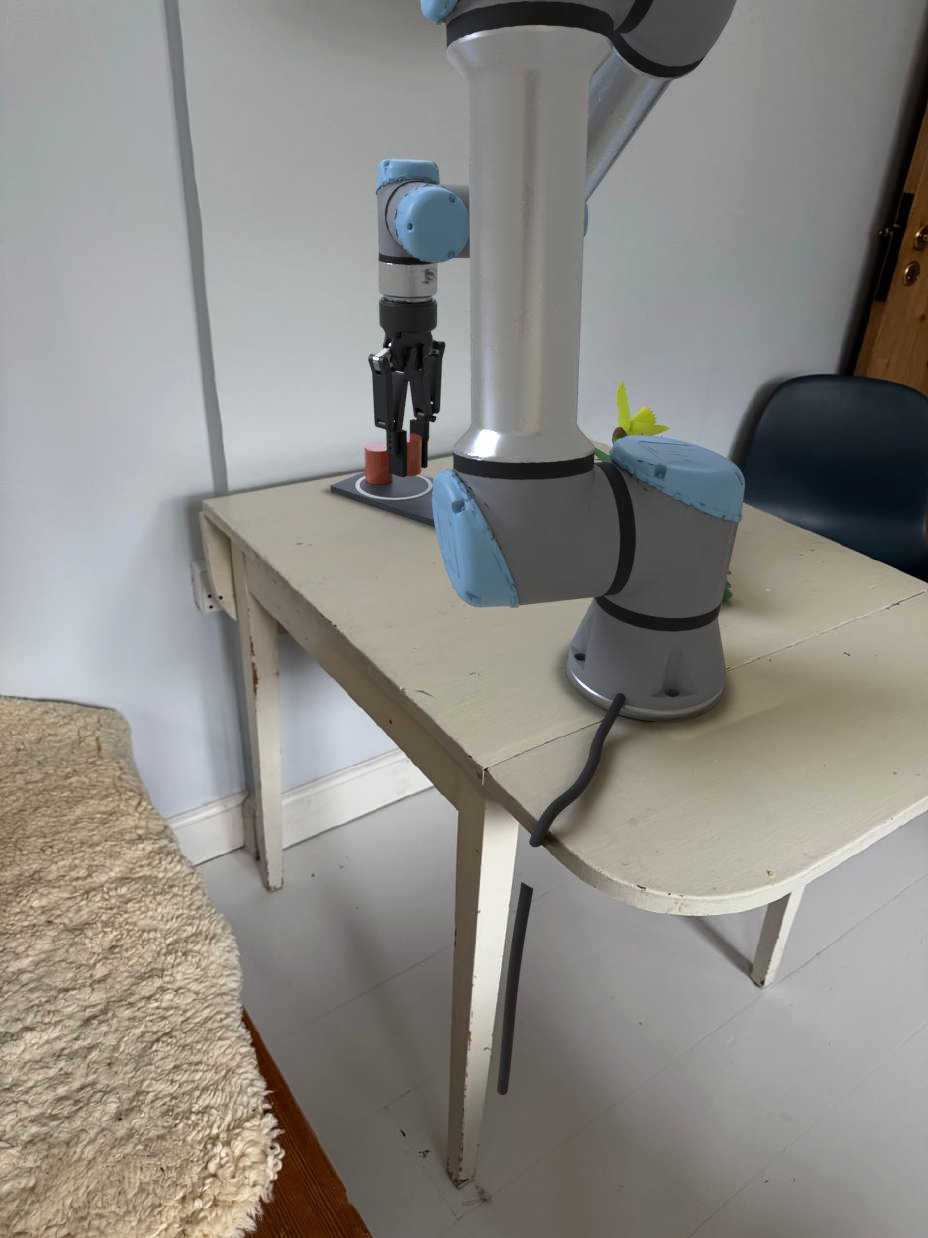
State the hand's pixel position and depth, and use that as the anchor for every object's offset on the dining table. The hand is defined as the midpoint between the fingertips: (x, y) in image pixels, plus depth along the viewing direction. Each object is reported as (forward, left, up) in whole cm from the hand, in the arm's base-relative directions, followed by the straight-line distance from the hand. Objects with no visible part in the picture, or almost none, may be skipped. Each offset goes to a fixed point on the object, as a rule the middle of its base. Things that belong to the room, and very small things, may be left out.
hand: (408, 469), depth 119 cm
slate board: (0, -2, -4) cm, 5 cm away
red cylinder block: (0, 0, 0) cm, 0 cm away
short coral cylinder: (0, +6, -3) cm, 6 cm away
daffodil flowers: (+5, -35, -4) cm, 36 cm away
